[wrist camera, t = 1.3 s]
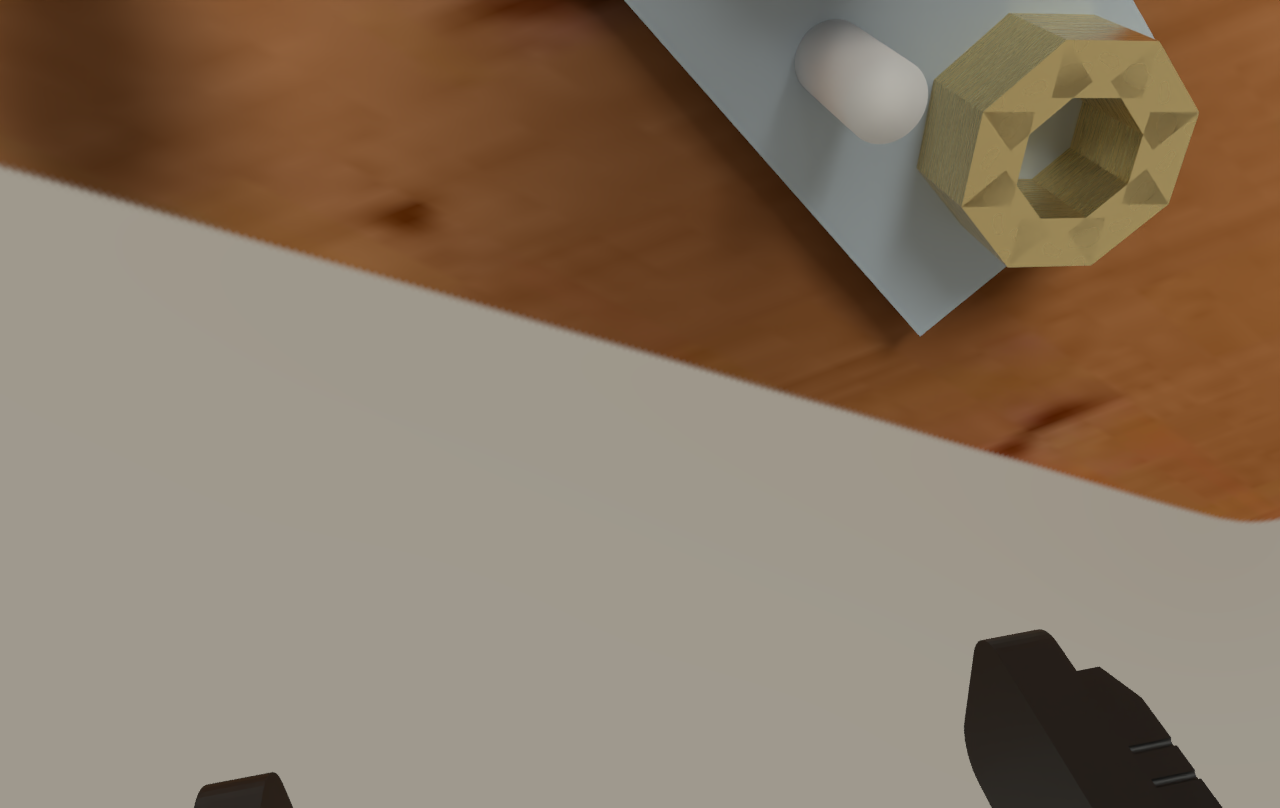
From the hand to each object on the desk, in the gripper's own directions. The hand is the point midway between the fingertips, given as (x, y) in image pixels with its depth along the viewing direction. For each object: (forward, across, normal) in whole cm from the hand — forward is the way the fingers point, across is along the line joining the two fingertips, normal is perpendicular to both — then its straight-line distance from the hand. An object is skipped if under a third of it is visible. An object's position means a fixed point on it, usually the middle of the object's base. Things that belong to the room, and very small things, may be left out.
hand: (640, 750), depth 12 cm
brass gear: (+19, -14, +1) cm, 24 cm away
